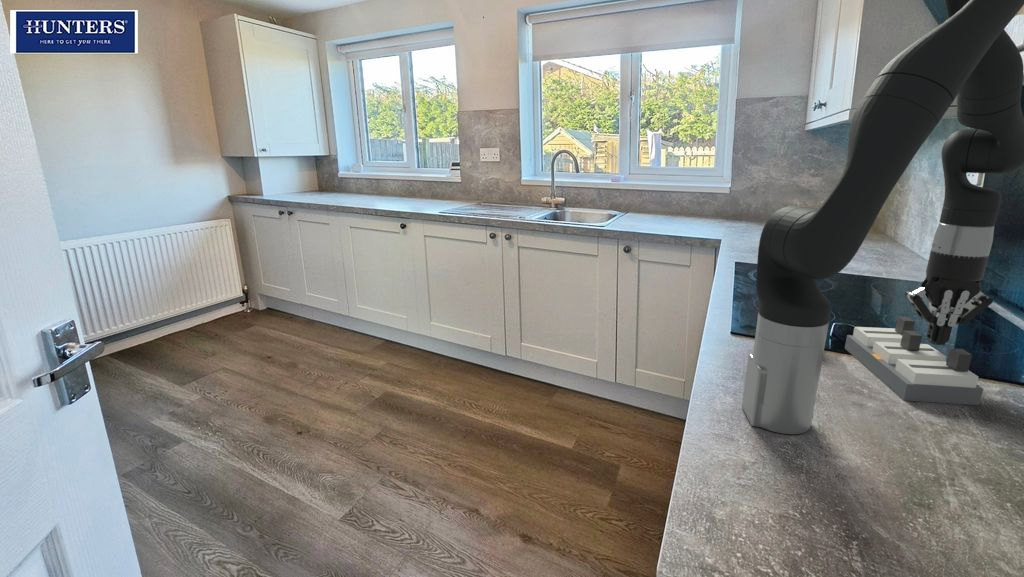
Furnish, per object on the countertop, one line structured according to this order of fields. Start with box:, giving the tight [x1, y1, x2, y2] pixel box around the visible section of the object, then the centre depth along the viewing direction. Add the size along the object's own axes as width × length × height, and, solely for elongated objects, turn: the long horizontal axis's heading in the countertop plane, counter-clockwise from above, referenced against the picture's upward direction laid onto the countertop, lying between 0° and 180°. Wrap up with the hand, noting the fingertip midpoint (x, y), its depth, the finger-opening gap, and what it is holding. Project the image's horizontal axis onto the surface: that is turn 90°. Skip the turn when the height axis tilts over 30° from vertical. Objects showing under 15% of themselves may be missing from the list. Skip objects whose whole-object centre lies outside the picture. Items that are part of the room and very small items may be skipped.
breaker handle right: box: [946, 348, 973, 372], centre depth 82 cm, size 2×2×3 cm
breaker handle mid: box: [900, 330, 923, 351], centre depth 90 cm, size 2×2×3 cm
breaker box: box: [844, 326, 984, 406], centre depth 92 cm, size 11×22×5 cm, turn 169°
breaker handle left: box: [894, 316, 916, 335], centre depth 97 cm, size 2×2×3 cm
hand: (936, 343), depth 90 cm, fingers closed
